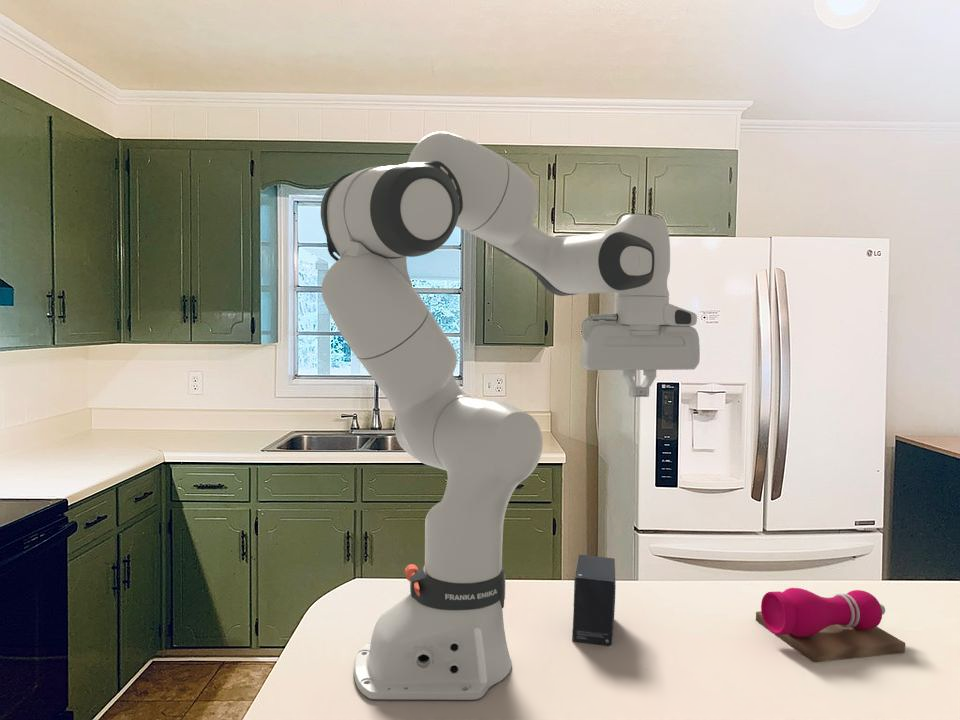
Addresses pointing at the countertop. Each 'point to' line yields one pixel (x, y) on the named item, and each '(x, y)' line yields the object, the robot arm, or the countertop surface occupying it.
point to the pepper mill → (818, 611)
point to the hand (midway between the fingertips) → (638, 396)
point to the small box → (594, 600)
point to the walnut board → (842, 643)
